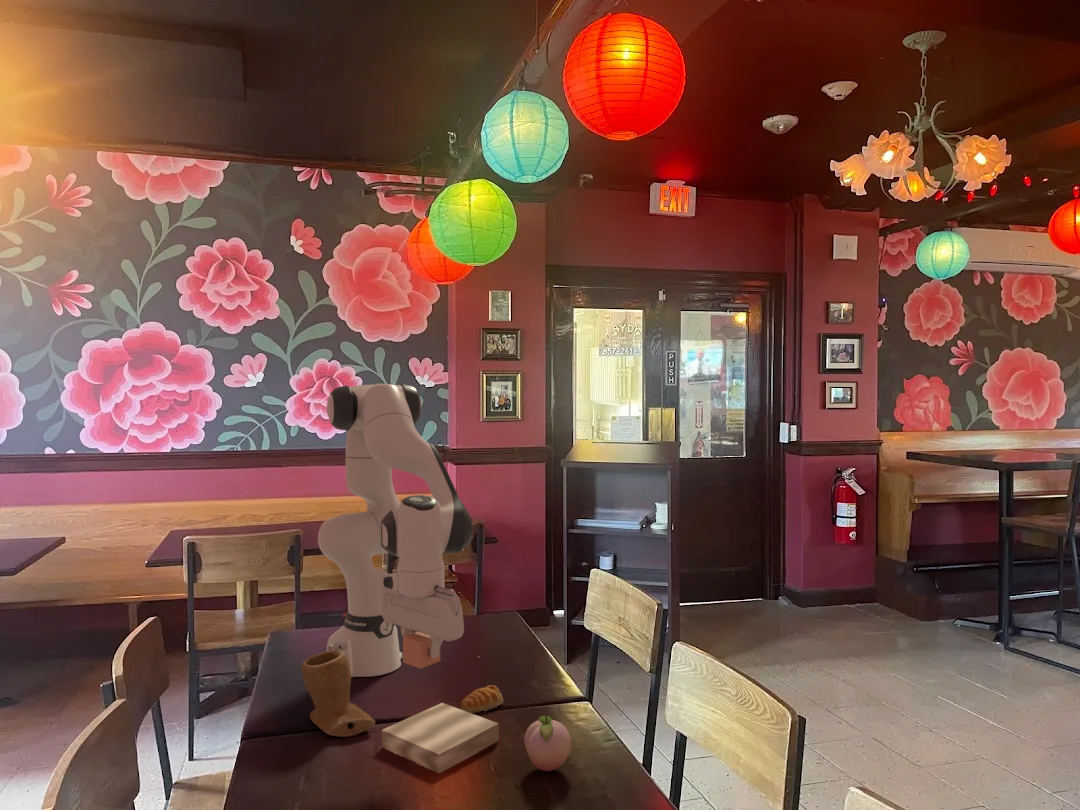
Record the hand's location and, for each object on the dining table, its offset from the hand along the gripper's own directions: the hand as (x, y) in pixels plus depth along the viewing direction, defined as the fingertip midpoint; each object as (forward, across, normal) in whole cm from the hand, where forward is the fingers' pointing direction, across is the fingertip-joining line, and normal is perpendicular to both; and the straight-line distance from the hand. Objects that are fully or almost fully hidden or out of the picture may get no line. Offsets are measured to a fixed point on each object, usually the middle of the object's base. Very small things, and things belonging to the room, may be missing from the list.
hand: (422, 653), depth 148 cm
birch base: (+19, -1, -4) cm, 20 cm away
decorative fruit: (+19, -24, -9) cm, 32 cm away
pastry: (+19, +5, -22) cm, 29 cm away
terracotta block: (+2, 0, 0) cm, 2 cm away
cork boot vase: (+19, +22, +5) cm, 29 cm away
